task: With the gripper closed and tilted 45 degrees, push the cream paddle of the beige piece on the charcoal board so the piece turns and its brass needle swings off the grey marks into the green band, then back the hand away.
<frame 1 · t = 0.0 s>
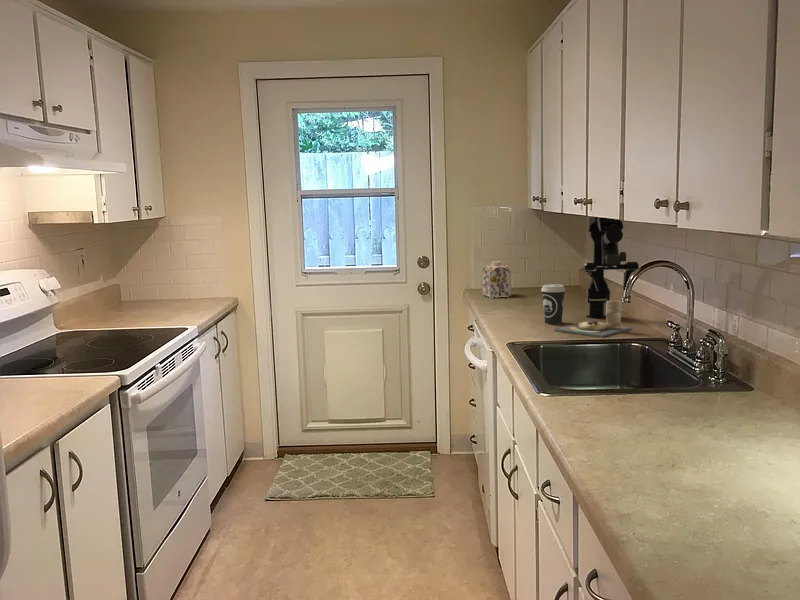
hand: (611, 290, 249), 15 cm above the worktop, tool pointing down, fingers open, 9 cm apart
beige piece: (600, 315, 253), point 6 cm above the worktop, hinge at 0.0°
decorative jar: (496, 297, 352), on the worktop
coffee cup: (553, 323, 275), on the worktop
board: (592, 330, 257), on the worktop
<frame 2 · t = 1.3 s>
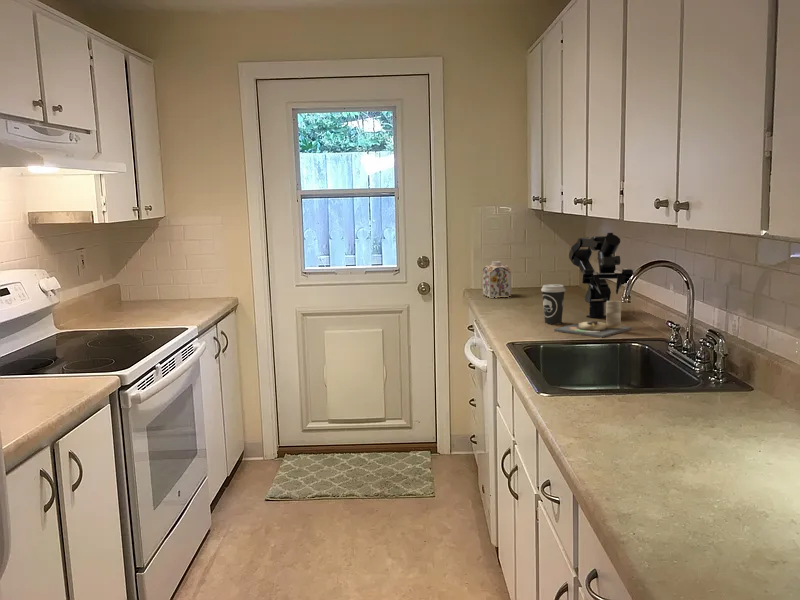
hand: (609, 293, 262), 13 cm above the worktop, tool tilted 45°, fingers open, 6 cm apart
nothing on the worktop moved.
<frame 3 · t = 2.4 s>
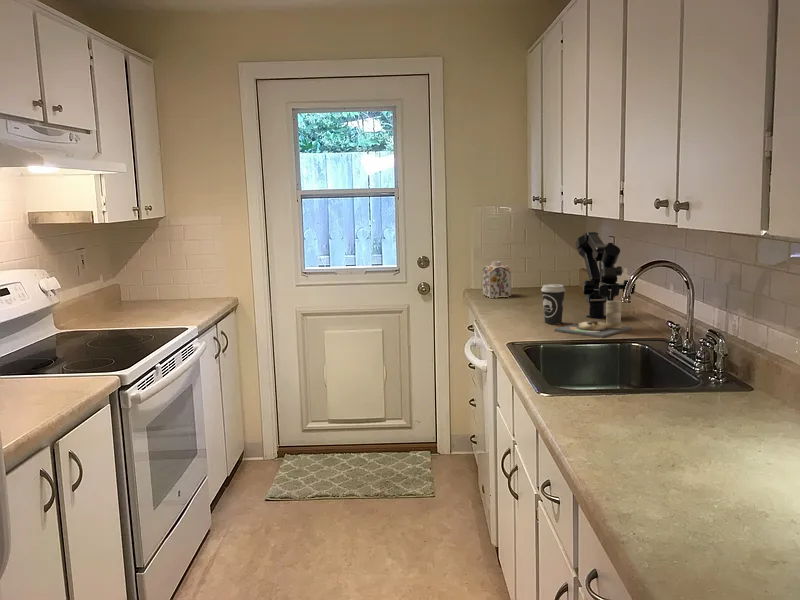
hand: (610, 304, 258), 9 cm above the worktop, tool tilted 45°, fingers closed
nothing on the worktop moved.
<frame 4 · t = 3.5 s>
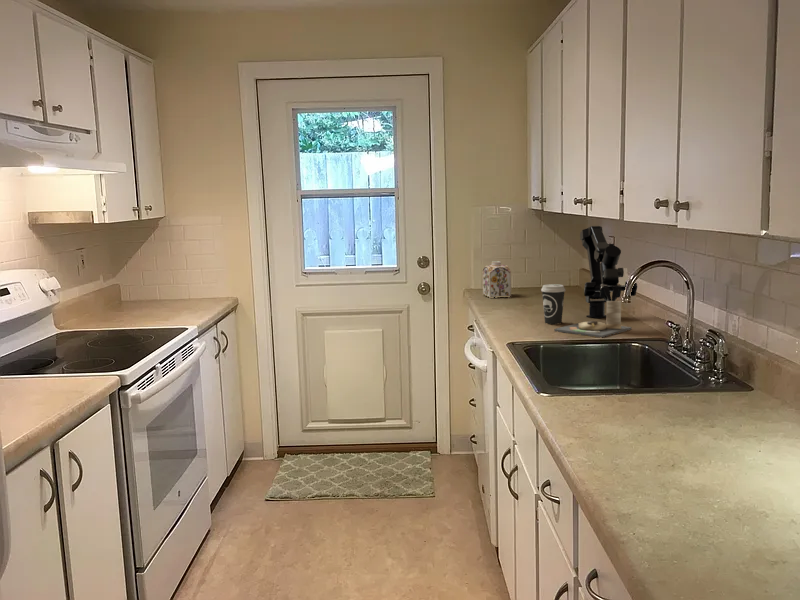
hand: (612, 306, 254), 9 cm above the worktop, tool tilted 45°, fingers closed, pressing on beige piece
beige piece: (599, 315, 253), point 6 cm above the worktop, hinge at -2.2°, touching gripper
everything else where it was.
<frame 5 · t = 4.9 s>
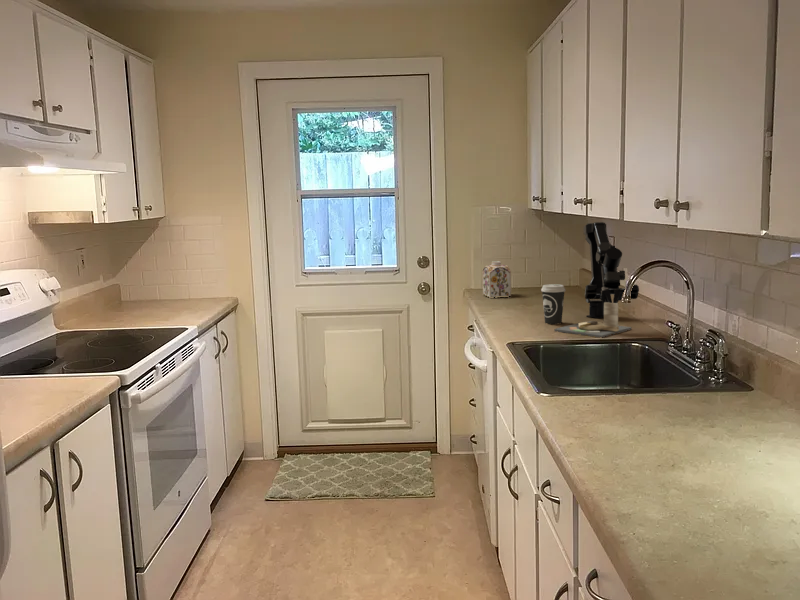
hand: (613, 310, 250), 8 cm above the worktop, tool tilted 45°, fingers closed
beige piece: (596, 315, 252), point 6 cm above the worktop, hinge at -36.7°, touching gripper
everything else where it was.
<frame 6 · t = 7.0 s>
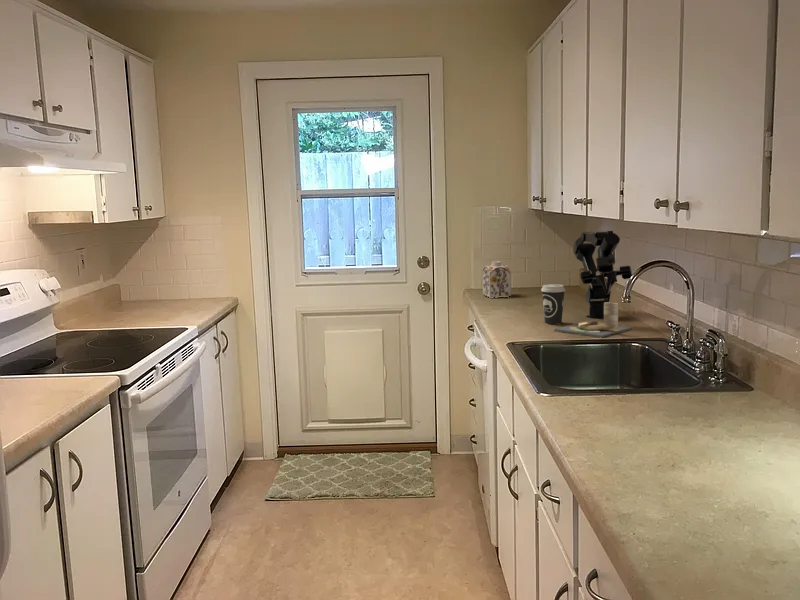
hand: (607, 293, 262), 12 cm above the worktop, tool tilted 40°, fingers closed
beige piece: (596, 315, 252), point 6 cm above the worktop, hinge at -36.7°
everything else where it was.
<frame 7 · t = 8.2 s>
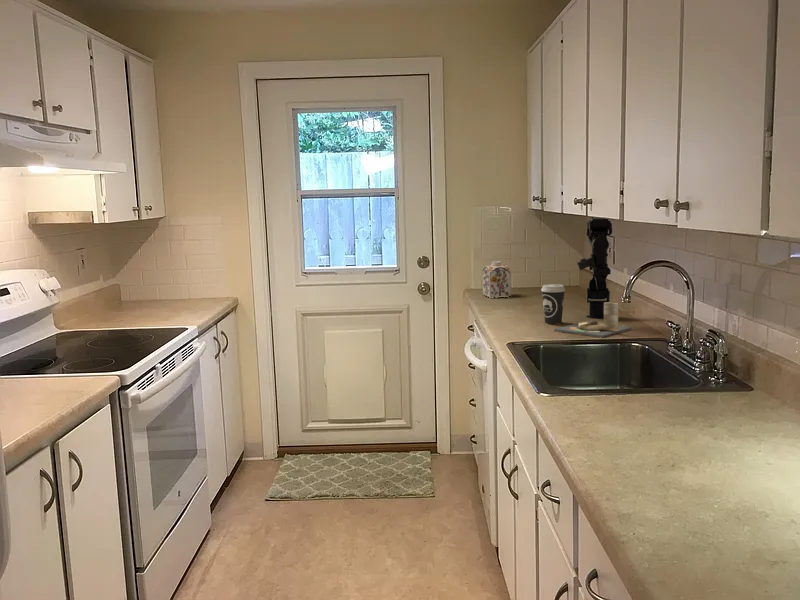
hand: (599, 290, 268), 13 cm above the worktop, tool pointing down, fingers closed
nothing on the worktop moved.
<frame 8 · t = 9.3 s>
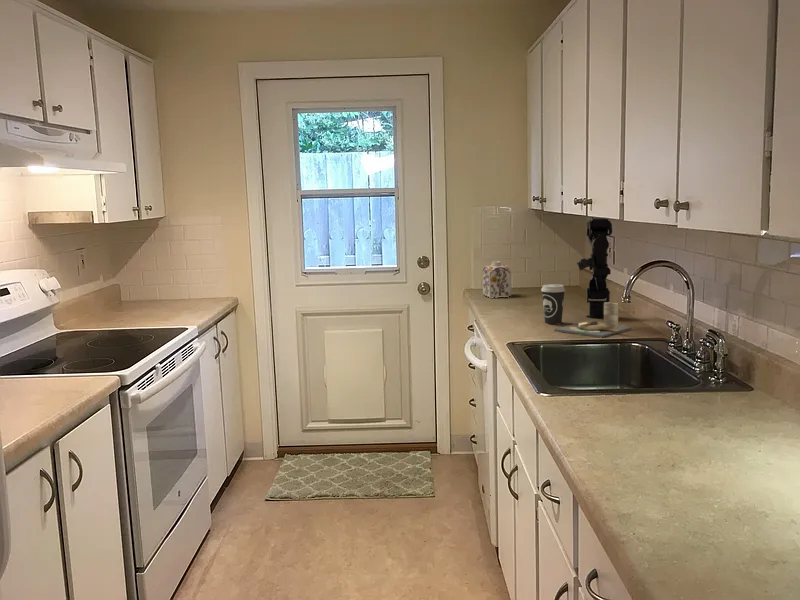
hand: (599, 290, 268), 13 cm above the worktop, tool pointing down, fingers closed
nothing on the worktop moved.
at the end: beige piece at -37° (first picture: +0°); coffee cup moved 0.2 cm from its start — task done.
